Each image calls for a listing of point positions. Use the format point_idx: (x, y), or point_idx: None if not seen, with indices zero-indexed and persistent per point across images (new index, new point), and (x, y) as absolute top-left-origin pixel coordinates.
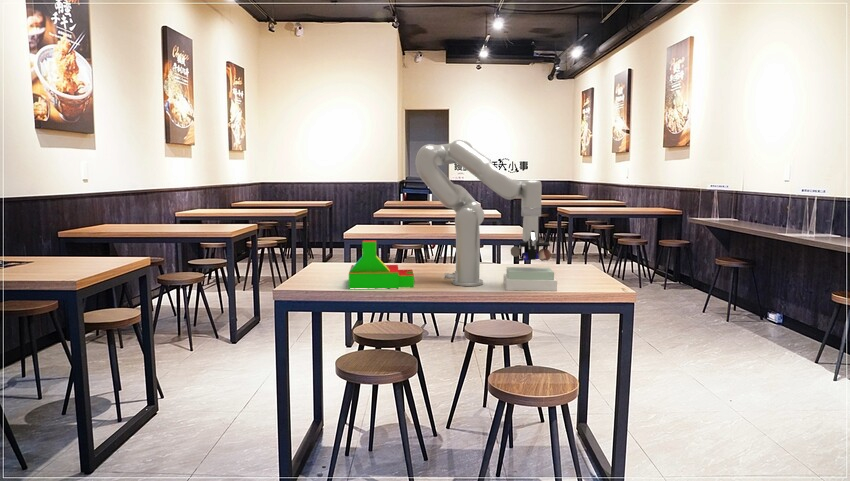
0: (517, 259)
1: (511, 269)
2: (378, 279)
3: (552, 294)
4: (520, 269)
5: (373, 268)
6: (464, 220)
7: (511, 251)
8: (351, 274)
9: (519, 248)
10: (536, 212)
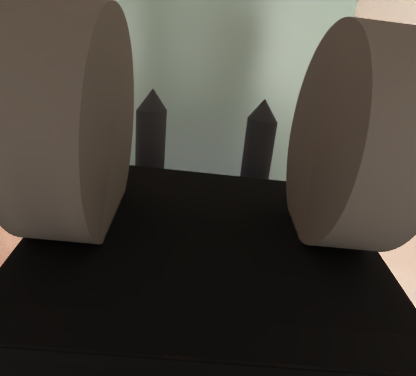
0: (248, 125)
1: (180, 16)
2: None
3: (7, 244)
4: (189, 123)
5: None
6: None
7: (17, 12)
8: None
9: (372, 250)
10: None
